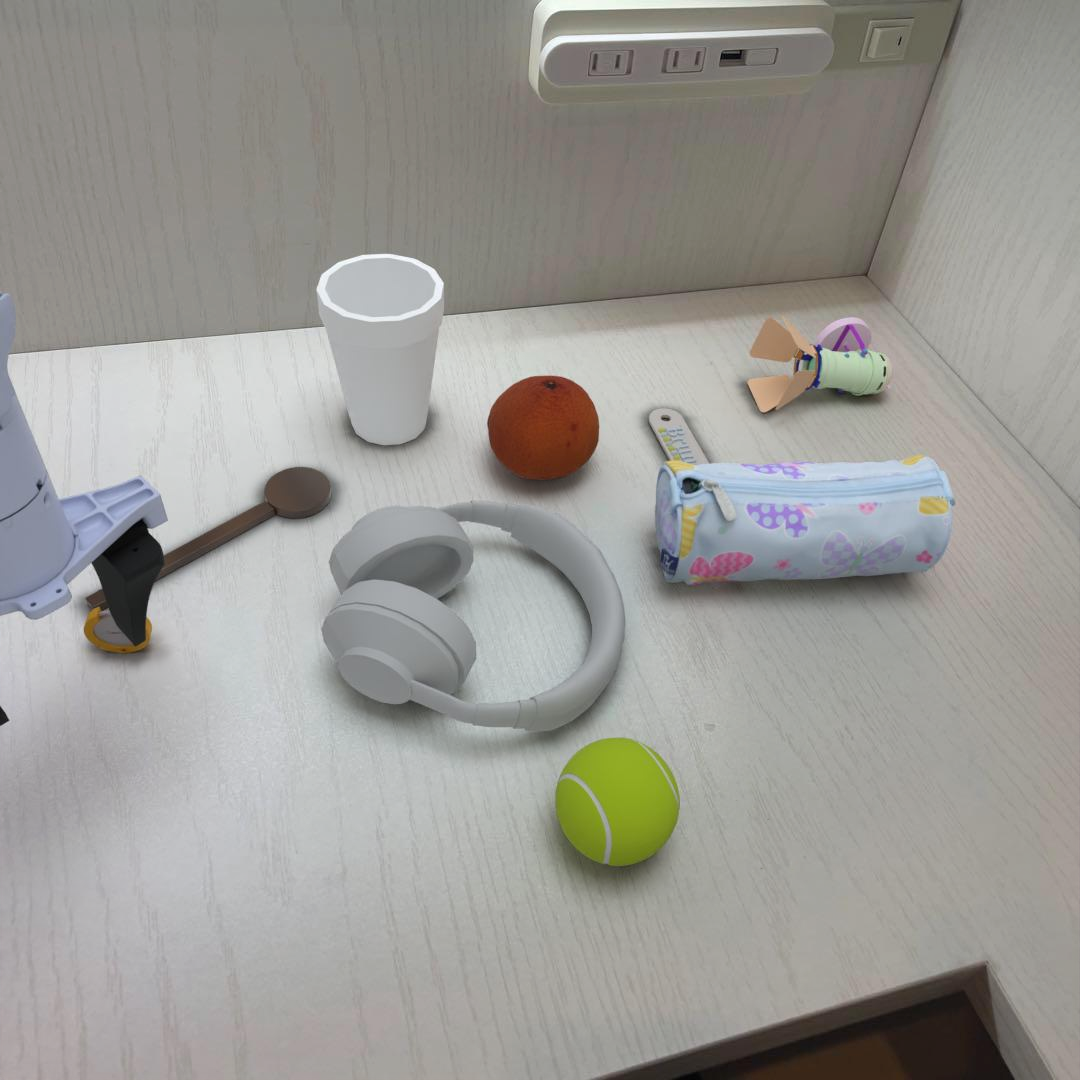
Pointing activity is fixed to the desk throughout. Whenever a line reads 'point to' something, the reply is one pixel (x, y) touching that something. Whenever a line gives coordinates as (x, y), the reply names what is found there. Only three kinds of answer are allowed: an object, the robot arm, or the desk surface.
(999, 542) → the desk surface
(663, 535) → the pencil case
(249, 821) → the desk surface
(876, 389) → the spotlight
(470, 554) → the headphones
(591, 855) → the tennis ball
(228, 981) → the desk surface
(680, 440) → the keychain
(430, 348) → the foam cup
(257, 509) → the spoon
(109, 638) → the tracker
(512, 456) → the fruit
